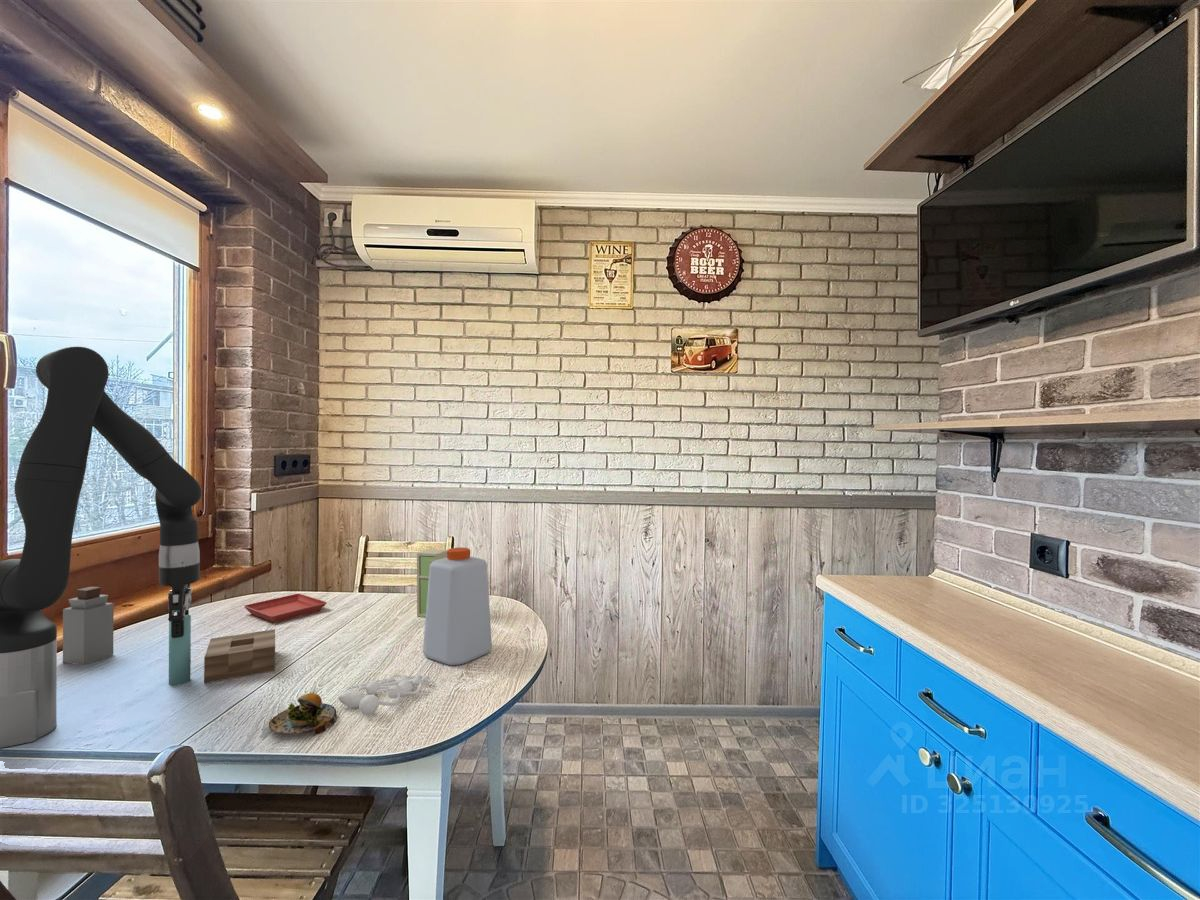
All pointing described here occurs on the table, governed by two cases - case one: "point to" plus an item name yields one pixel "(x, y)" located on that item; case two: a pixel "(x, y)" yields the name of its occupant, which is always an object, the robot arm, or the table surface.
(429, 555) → the toy refrigerator
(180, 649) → the pin
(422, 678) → the tangled rod sculpture
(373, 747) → the table surface
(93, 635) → the perfume bottle
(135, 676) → the table surface
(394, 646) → the table surface
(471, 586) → the plastic bottle
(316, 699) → the burger
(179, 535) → the robot arm
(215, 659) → the bore block
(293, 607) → the plant saucer
